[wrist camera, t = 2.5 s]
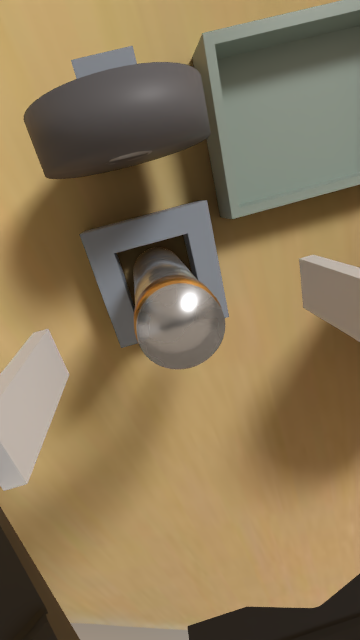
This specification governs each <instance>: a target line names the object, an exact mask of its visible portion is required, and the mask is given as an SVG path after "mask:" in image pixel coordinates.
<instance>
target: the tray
mask: <svg viewBox="0 0 360 640" xmlns="http://www.w3.org/2000/svg"><path fill="white" fill-rule="evenodd" d="M192 59H193V65H194V68H195V69H197V70H198V71H199V72H200V74H201V78H202V84H203V90H204V96H205V102H206V108H207V113H208V119H209V125H210V131H211V134H210V136H209V137H208V138H206V139H207V145H208V150H209V156H210V162H211V167H212V173H213V179H214V184H215V190H216V196H217V202H218V207H219V213H220V217H222V218H228V219H235V218H238V217H242V216H246V215H249V214H253V213H257V212H260V211H264V210H268V209H272V208H275V207H279V206H283V205H286V204H290V203H294V202H297V201H301V200H305V199H308V198H312V197H316V196H319V195H323V194H327V193H330V192H334V191H338V190H341V189H345V188H349V187H352V186H356V185H360V0H342V1H337V2H333V3H329V4H325V5H320V6H316V7H312V8H308V9H303V10H299V11H295V12H291V13H286V14H282V15H278V16H274V17H269V18H265V19H261V20H257V21H252V22H248V23H244V24H240V25H235V26H231V27H227V28H223V29H218V30H214V31H210V32H206V33H202V36H201V38H200V40H199V43H198V45H197V47H196V50H195V52H194V54H193V57H192Z"/></svg>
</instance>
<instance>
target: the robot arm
mask: <svg viewBox="0 0 360 640" xmlns="http://www.w3.org/2000/svg"><path fill="white" fill-rule="evenodd" d="M299 262H300V274H301V286H302V298H303V308H305V309H306V310H308V311H310V312H311V313H313V314H315V315H316V316H318V317H320V318H321V319H323V320H324V321H326V322H328V323H329V324H331V325H333V326H334V327H336V328H338V329H339V330H341V331H343V332H344V333H346V334H347V335H349V336H351V337H352V338H354V339H356V340H357V341H359V342H360V268H359V267H355V266H352V265H348V264H345V263H341V262H338V261H334V260H330V259H327V258H323V257H320V256H316V255H311V256H307V257H303V258H300V259H299ZM68 377H69V372H68V370H67V368H66V366H65V364H64V362H63V360H62V357H61V355H60V353H59V351H58V349H57V347H56V344H55V342H54V340H53V338H52V336H51V334H50V331H49V329H45V330H42V331H38V332H34V333H32V335H31V336H30V337H29V339H28V340H27V341H26V342H25V344H24V345H23V346H22V347H21V349H20V350H19V351H18V352H17V354H16V355H15V356H14V357H13V359H12V360H11V361H10V362H9V364H8V365H7V366H6V367H5V369H4V370H3V371H2V373H1V374H0V486H1V488H2V489H3V490H4V491H5V490H9V489H12V488H15V487H19V486H22V485H25V484H27V483H28V481H29V478H30V476H31V473H32V470H33V468H34V465H35V463H36V460H37V457H38V455H39V452H40V450H41V447H42V444H43V442H44V439H45V437H46V434H47V431H48V429H49V426H50V424H51V421H52V418H53V416H54V413H55V411H56V408H57V405H58V403H59V400H60V398H61V395H62V392H63V390H64V387H65V385H66V382H67V379H68ZM188 634H189V640H360V574H359V575H358V576H356V577H355V578H354V579H353V580H351V581H350V582H349V583H348V584H347V585H345V586H344V587H343V588H342V589H341V590H339V591H338V592H337V593H336V594H335V595H333V596H332V597H331V598H330V599H328V600H327V601H326V602H325V603H324V604H322V605H321V606H319V607H316V608H277V607H245V608H242V609H239V610H236V611H233V612H229V613H226V614H223V615H220V616H217V617H214V618H211V619H208V620H205V621H202V622H199V623H196V624H193V625H190V626H188ZM0 640H80V639H79V637H78V636H77V634H76V632H75V631H74V629H73V627H72V626H71V624H70V622H69V621H68V619H67V617H66V616H65V614H64V612H63V611H62V609H61V607H60V606H59V604H58V602H57V601H56V599H55V597H54V596H53V594H52V592H51V591H50V589H49V587H48V585H47V584H46V582H45V580H44V579H43V577H42V575H41V574H40V572H39V570H38V569H37V567H36V565H35V564H34V562H33V560H32V559H31V557H30V555H29V554H28V552H27V550H26V549H25V547H24V545H23V544H22V542H21V540H20V539H19V537H18V535H17V534H16V532H15V530H14V529H13V527H12V525H11V524H10V522H9V520H8V519H7V517H6V515H5V514H4V512H3V510H2V509H1V507H0Z"/></svg>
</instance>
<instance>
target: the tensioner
mask: <svg viewBox="0 0 360 640" xmlns="http://www.w3.org/2000/svg"><path fill="white" fill-rule="evenodd" d="M71 62H72V65H73V68H74V71H75V75H76V78H77V79H76V80H73V81H71V82H68V83H66V84H63V85H61V86H59V87H57V88H55V89H53V90H51V91H50V92H48V93H46V94H44V95H43V96H41V97H40V98H39V99H37V100H36V101H35V102H34V103H32V104H31V105H30V106H29V108H28V109H27V110H26V112H25V114H24V122H25V125H26V127H27V130H28V133H29V135H30V138H31V140H32V143H33V146H34V148H35V151H36V153H37V156H38V159H39V161H40V164H41V167H42V169H43V172H44V174H45V177H47V178H50V179H67V178H75V177H82V176H89V175H94V174H99V173H104V172H109V171H113V170H118V169H122V168H126V167H130V166H134V165H137V164H141V163H144V162H148V161H151V160H155V159H158V158H161V157H164V156H167V155H170V154H173V153H176V152H179V151H181V150H184V149H186V148H189V147H191V146H193V145H196V144H198V143H200V142H202V141H203V140H205V139H206V138H208V137H209V136H210V134H211V131H210V125H209V119H208V113H207V108H206V102H205V96H204V90H203V84H202V78H201V74H200V72H199V71H198V70H197V69H195V68H193V67H191V66H188V65H185V64H180V63H170V62H152V63H141V64H137V63H136V58H135V54H134V50H133V46H129V47H125V48H121V49H117V50H112V51H108V52H104V53H100V54H95V55H91V56H87V57H83V58H78V59H74V60H71ZM79 235H80V237H81V240H82V243H83V245H84V248H85V251H86V254H87V256H88V259H89V262H90V265H91V267H92V270H93V273H94V275H95V278H96V281H97V284H98V286H99V289H100V292H101V294H102V297H103V300H104V303H105V305H106V308H107V311H108V313H109V316H110V319H111V322H112V324H113V327H114V330H115V332H116V335H117V338H118V341H119V343H120V346H121V348H123V347H127V346H130V345H133V344H137V343H138V341H137V339H136V335H135V330H134V309H135V306H134V303H133V300H132V297H131V294H130V291H129V288H128V285H127V282H126V279H125V276H124V273H123V270H122V267H121V263H120V260H119V257H118V254H117V252H121V251H125V250H128V249H132V248H136V247H139V246H143V245H147V244H150V243H154V242H158V241H161V240H165V239H169V238H172V237H176V236H180V235H183V236H184V241H185V245H186V250H187V254H188V258H189V263H190V267H191V271H192V274H193V275H194V276H195V277H196V279H197V280H198V281H200V282H201V283H203V284H204V285H205V286H206V287H207V288H208V289H209V290H210V291H211V292H212V293H213V295H214V296H215V297H216V298H217V300H218V302H219V303H220V306H221V308H222V311H223V314H224V318H226V317H229V314H228V309H227V304H226V298H225V293H224V288H223V282H222V277H221V272H220V267H219V261H218V256H217V251H216V245H215V240H214V235H213V230H212V224H211V219H210V214H209V208H208V203H207V200H199V201H195V202H192V203H188V204H184V205H180V206H177V207H173V208H169V209H165V210H162V211H158V212H154V213H150V214H147V215H143V216H139V217H135V218H132V219H128V220H124V221H120V222H117V223H113V224H109V225H105V226H102V227H98V228H94V229H90V230H87V231H84V232H82V233H81V234H79Z"/></svg>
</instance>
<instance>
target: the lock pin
mask: <svg viewBox="0 0 360 640" xmlns="http://www.w3.org/2000/svg"><path fill="white" fill-rule="evenodd" d="M133 274H134V292H135V309H134V330H135V335H136V339H137V341H138V343H139V345H140V347H141V349H142V351H143V352H144V354H145V355H146V356H147V357H148V358H149V359H150V360H151V361H153V362H154V363H156V364H158V365H160V366H162V367H165V368H169V369H186V368H191V367H194V366H197V365H199V364H201V363H203V362H204V361H206V360H207V359H208V358H210V357H211V356H212V355H213V354H214V353H215V351H216V350H217V349H218V347H219V346H220V344H221V342H222V339H223V336H224V332H225V318H224V314H223V311H222V308H221V306H220V303H219V302H218V300H217V298H216V297H215V296H214V295H213V293H212V292H211V291H210V290H209V289H208V288H207V287H206V286H205V285H204V284H203V283H201V282H200V281H198V280H197V279H196V277H195V276H194V275H193V274H192V273H191V272H190V271H189V269H188V268H187V267H186V266H185V265H184V264H183V263H182V261H181V260H180V259H179V258H178V257H177V256H176V255H175V254H174V253H173V252H172V251H170V250H168V249H166V248H162V247H154V248H150V249H147V250H146V251H144V252H143V253H141V254H140V255H139V257H138V258H137V260H136V262H135V264H134V270H133Z"/></svg>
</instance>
